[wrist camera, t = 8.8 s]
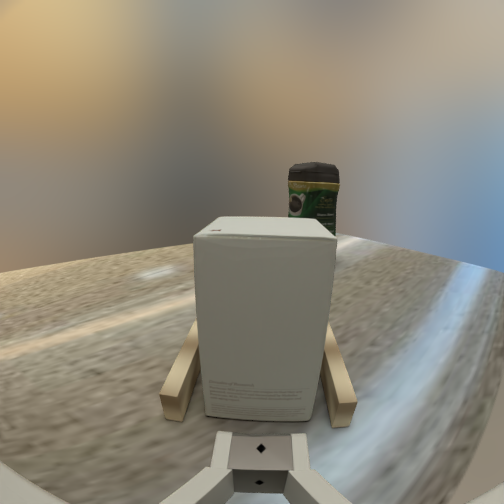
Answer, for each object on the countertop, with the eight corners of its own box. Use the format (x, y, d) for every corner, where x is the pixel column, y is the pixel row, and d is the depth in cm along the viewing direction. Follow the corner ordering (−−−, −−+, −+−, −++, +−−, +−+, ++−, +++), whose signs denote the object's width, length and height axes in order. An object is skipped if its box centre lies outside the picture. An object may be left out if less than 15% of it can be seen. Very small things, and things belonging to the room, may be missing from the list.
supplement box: (312, 423, 16) (341, 237, 13) (203, 417, 17) (187, 232, 14) (304, 362, 23) (318, 216, 20) (220, 358, 24) (217, 213, 21)
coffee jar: (341, 267, 50) (348, 164, 46) (305, 272, 47) (310, 159, 43) (312, 254, 59) (316, 164, 54) (279, 257, 56) (282, 161, 51)
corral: (348, 426, 16) (357, 401, 15) (165, 418, 16) (159, 393, 16) (324, 342, 26) (328, 320, 26) (198, 338, 27) (197, 316, 26)
